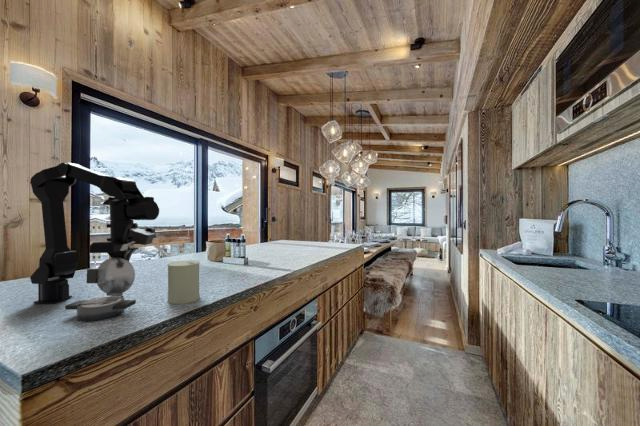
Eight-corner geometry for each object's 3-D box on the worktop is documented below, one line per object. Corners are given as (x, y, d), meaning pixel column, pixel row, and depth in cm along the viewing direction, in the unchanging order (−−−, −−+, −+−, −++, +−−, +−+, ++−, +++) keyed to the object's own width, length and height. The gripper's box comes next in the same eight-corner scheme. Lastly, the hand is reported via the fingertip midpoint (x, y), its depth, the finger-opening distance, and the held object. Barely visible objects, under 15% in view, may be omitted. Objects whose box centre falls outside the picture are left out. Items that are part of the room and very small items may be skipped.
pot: (55, 322, 70) (55, 308, 70) (91, 307, 82) (91, 295, 82) (118, 321, 71) (118, 307, 71) (144, 306, 82) (144, 294, 82)
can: (187, 305, 84) (187, 264, 84) (160, 303, 85) (160, 263, 85) (205, 296, 93) (205, 259, 93) (181, 294, 94) (181, 258, 94)
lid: (87, 257, 80) (91, 257, 82) (85, 296, 80) (89, 295, 81) (134, 257, 81) (136, 256, 82) (132, 295, 80) (135, 294, 81)
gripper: (130, 221, 75) (132, 279, 75) (165, 218, 93) (166, 265, 94) (87, 222, 74) (88, 280, 75) (130, 219, 93) (131, 266, 93)
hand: (123, 272), depth 84 cm, fingers closed
